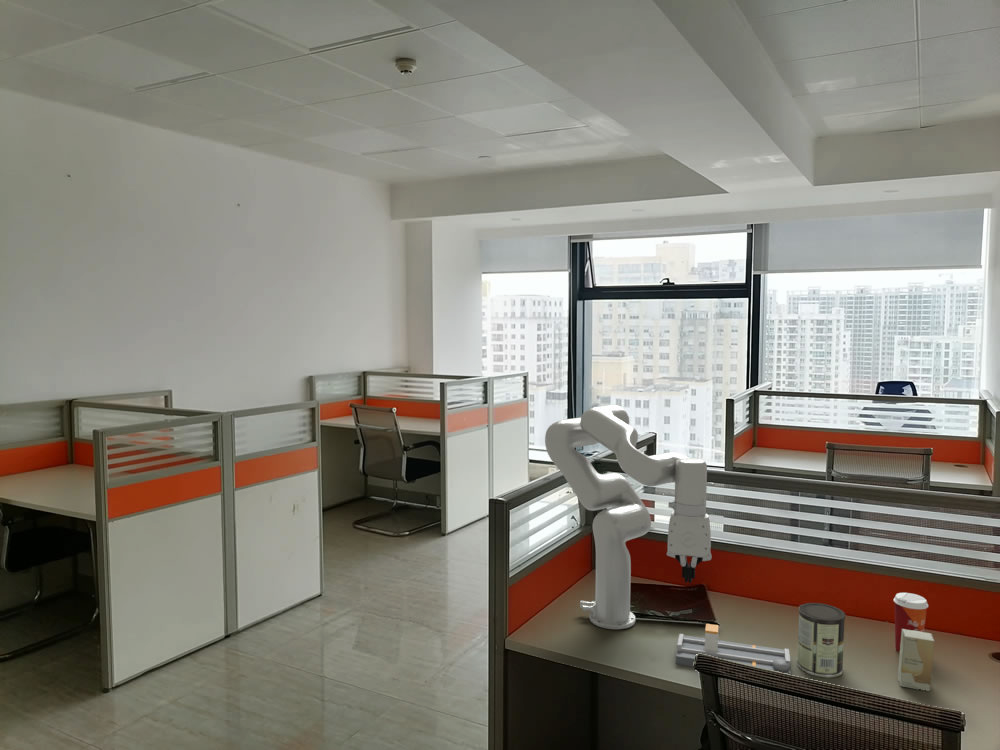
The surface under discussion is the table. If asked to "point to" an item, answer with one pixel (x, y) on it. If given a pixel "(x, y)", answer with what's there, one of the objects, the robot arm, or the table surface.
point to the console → (734, 653)
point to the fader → (711, 638)
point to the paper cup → (909, 614)
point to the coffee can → (821, 639)
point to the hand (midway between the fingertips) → (688, 580)
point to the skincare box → (915, 659)
